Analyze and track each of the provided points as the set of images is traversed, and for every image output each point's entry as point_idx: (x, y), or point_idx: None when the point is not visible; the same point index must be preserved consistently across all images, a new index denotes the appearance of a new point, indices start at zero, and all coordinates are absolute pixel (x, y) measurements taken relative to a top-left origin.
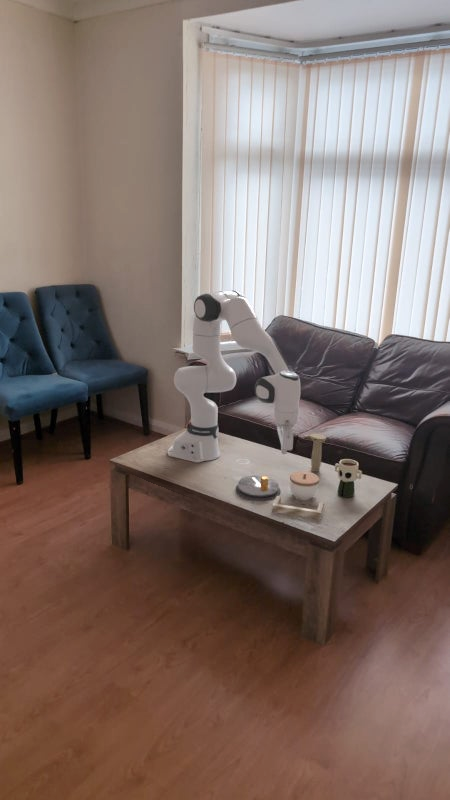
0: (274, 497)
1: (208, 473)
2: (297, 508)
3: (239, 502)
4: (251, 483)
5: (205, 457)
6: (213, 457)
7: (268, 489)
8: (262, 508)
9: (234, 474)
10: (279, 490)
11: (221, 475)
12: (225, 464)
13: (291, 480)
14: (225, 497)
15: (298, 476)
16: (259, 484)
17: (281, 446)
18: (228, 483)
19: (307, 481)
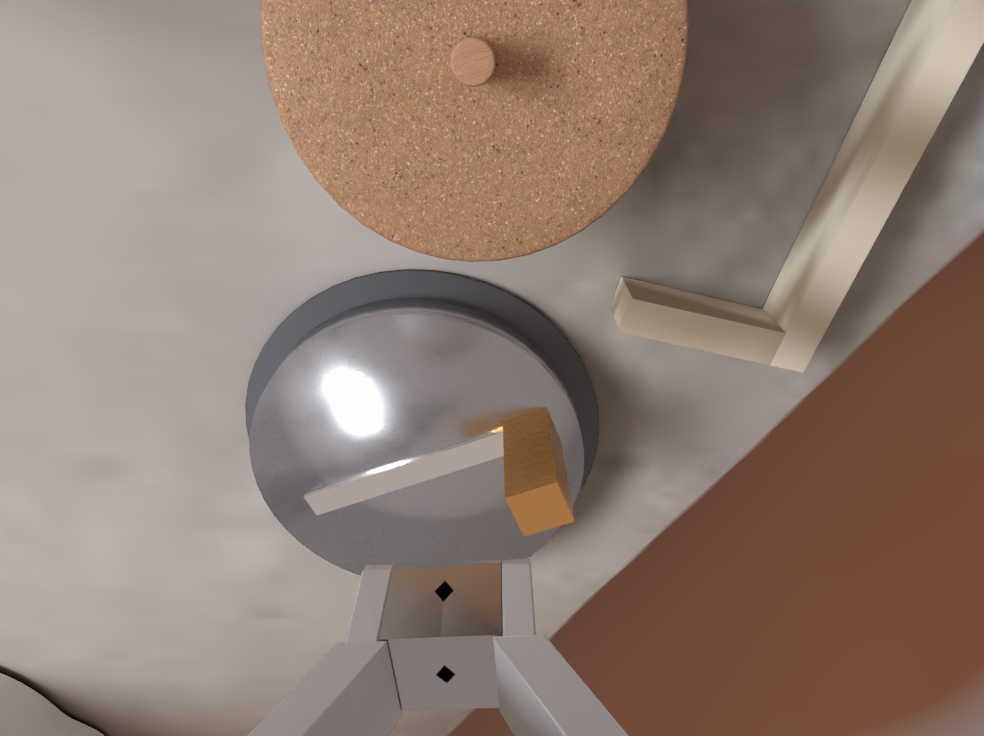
0: (547, 325)
1: (235, 685)
2: (907, 155)
3: (624, 536)
4: (419, 512)
5: (44, 732)
6: (3, 692)
7: (514, 398)
8: (719, 407)
9: (193, 570)
10: (404, 280)
11: (239, 631)
12: (50, 618)
13: (550, 243)
14: (556, 602)
15: (469, 154)
16: (436, 464)
17: (395, 720)
18: (349, 595)
19: (631, 25)
